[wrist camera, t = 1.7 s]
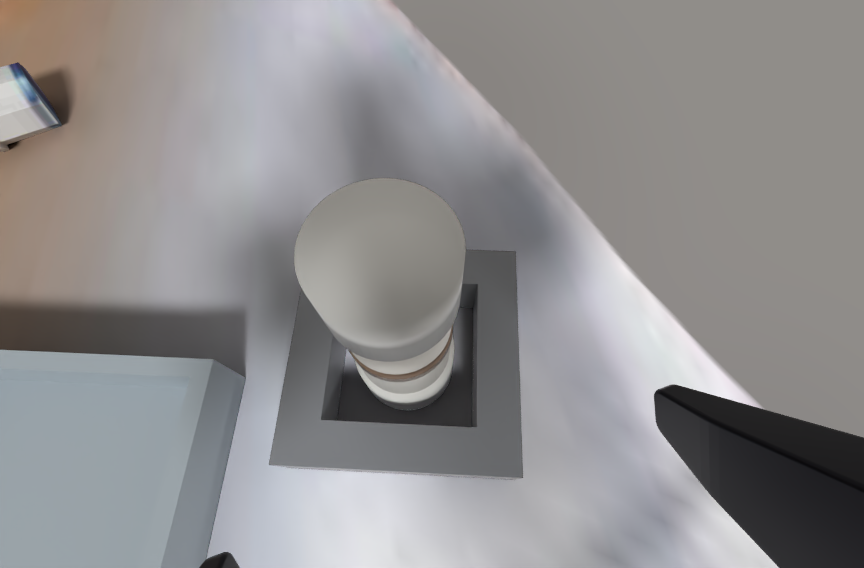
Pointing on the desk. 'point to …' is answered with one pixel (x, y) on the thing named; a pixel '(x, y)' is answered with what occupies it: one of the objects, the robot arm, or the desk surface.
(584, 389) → the desk surface
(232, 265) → the desk surface
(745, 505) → the robot arm
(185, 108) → the desk surface
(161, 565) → the tray
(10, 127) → the white long bar
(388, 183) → the light bulb
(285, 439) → the socket block
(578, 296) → the desk surface
